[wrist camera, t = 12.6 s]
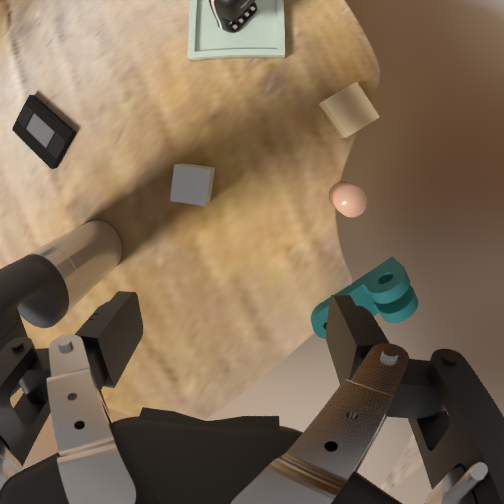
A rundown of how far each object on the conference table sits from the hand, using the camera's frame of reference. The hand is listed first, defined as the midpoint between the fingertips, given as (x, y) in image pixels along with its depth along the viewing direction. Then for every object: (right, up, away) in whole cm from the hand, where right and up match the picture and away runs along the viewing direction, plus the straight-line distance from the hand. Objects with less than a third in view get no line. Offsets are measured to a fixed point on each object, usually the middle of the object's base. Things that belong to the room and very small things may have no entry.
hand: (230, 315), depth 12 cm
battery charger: (-1, +37, +23) cm, 44 cm away
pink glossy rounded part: (+15, +11, +32) cm, 37 cm away
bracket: (+19, -6, +38) cm, 43 cm away
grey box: (-7, +13, +32) cm, 35 cm away
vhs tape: (-36, +24, +29) cm, 53 cm away
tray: (-1, +38, +23) cm, 44 cm away
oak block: (+15, +23, +28) cm, 39 cm away
